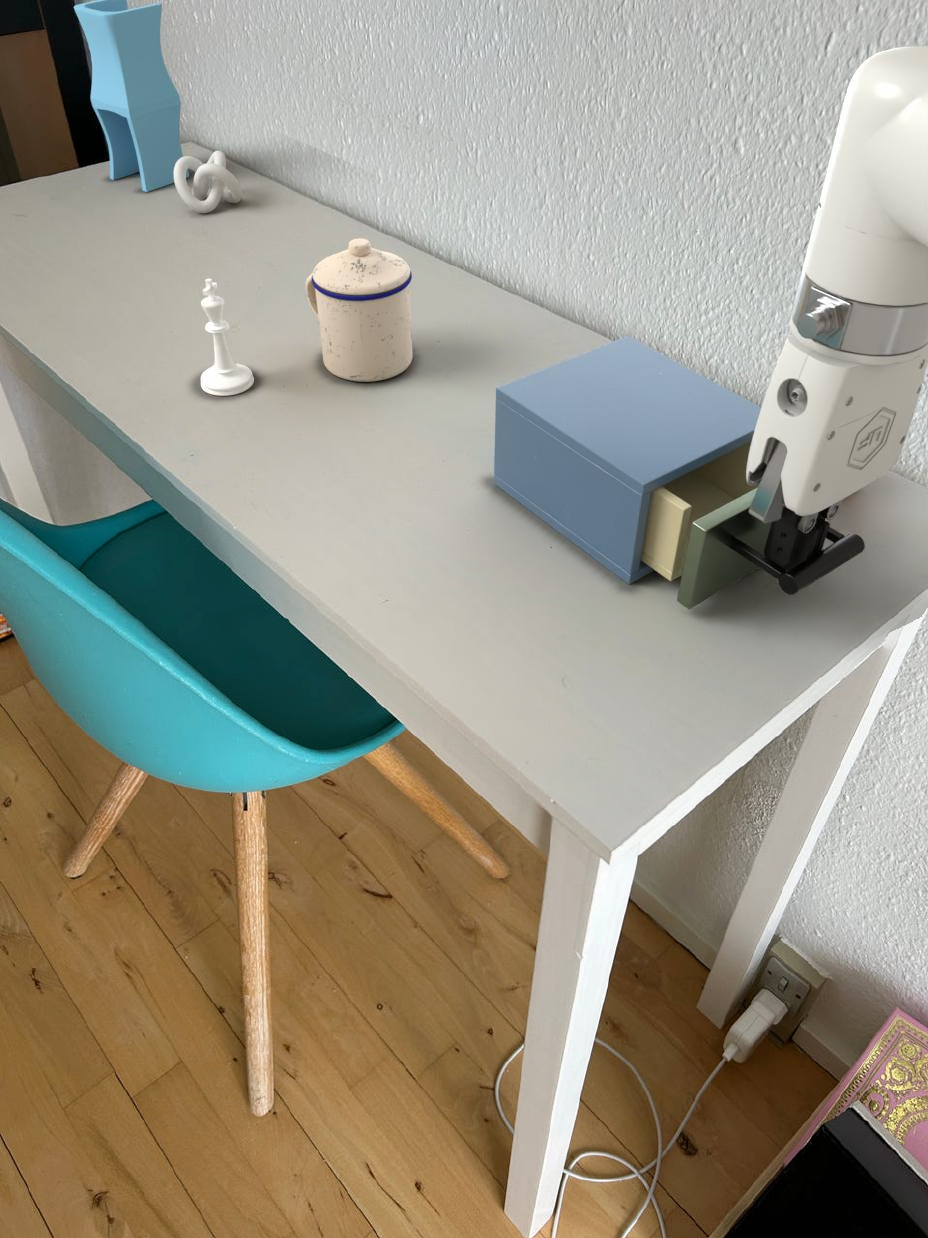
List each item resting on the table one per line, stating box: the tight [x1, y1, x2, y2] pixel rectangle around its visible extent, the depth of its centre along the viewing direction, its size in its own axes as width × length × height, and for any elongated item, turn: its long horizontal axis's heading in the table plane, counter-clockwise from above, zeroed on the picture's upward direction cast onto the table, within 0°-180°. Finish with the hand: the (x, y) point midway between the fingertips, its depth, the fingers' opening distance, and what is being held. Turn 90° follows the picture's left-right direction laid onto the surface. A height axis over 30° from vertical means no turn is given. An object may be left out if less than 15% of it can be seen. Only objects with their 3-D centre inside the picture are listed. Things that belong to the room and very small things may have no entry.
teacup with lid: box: [304, 237, 414, 383], centre depth 91 cm, size 12×9×12 cm
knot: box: [174, 150, 243, 214], centre depth 122 cm, size 8×8×6 cm
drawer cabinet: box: [493, 335, 762, 585], centre depth 75 cm, size 16×14×9 cm
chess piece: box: [200, 278, 255, 397], centre depth 88 cm, size 5×5×10 cm
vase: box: [73, 0, 190, 193], centre depth 125 cm, size 8×8×20 cm
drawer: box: [641, 441, 866, 610], centre depth 70 cm, size 20×13×7 cm, turn 37°
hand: (788, 562), depth 66 cm, fingers closed
